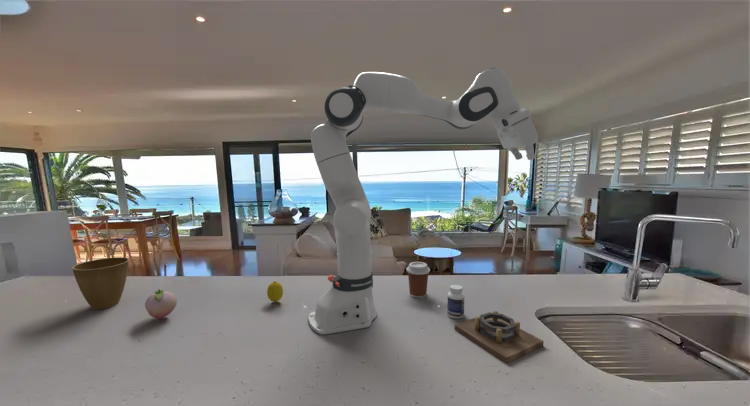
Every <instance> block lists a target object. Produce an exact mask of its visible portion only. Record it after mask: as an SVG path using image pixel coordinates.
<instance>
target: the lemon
mask: <svg viewBox="0 0 750 406" xmlns="http://www.w3.org/2000/svg"><path fill="white" fill-rule="evenodd" d="M266 294H267V298H268V300H269V301H271V302H273V303H277V302H278V301H280V299H282V297H283V295H284V289H283V286H282V284H281V283H280V282H279V281H272V282H271V283H270V284H269V285H268V287H267V290H266Z"/></svg>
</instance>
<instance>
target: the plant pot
mask: <svg viewBox="0 0 750 406" xmlns="http://www.w3.org/2000/svg"><path fill="white" fill-rule="evenodd" d="M129 260H130V259H129V258H128V257H117V256H115V257H107V258H106V257H105V258H98V259H92V260H88V261H84V262H80V263H78V264H75V265H73V266H72V268H71V269H72V272H73V276H74V278H75V282H76V283H77V284H76V285H78V288H79V291H80V292H81V294H82V296H83V298H84V300H85V301H86V303H87V304H88V305H89V307H90V308H91V309H92V310H95V311H96V310H99V311H100V310H104V309H105V310H106V309H109V308H112V307H114V305H115V306H116V304H117V305H118V304H119V303H120V301H121V298H122V296H123V292H124V288H125V286H126V282H127V277H128V270H129V262H130V261H129Z"/></svg>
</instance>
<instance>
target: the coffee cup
mask: <svg viewBox="0 0 750 406" xmlns="http://www.w3.org/2000/svg"><path fill="white" fill-rule="evenodd" d="M428 266H429V265H428V264H427V262H423V261H413V262H410V263H409V264H408V266H407V267H406V268H405V269H406V270H405V271H406V272H407V275H408V276H407V277H408V288H409V296H411V297H412V298H417V299H422V298H425V297H427V292H428V279H429V273H430V272H431V269H430V267H428Z"/></svg>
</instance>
